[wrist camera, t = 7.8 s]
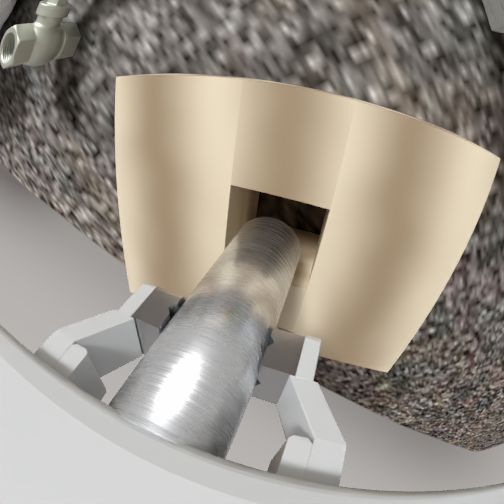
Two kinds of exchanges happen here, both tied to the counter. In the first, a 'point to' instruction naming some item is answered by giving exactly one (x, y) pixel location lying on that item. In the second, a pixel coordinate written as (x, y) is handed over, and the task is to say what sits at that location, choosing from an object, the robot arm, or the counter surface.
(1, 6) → the skull planter
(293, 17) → the counter surface
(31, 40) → the valve
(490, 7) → the supplement box
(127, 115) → the hole block
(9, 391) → the robot arm
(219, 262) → the steel peg
